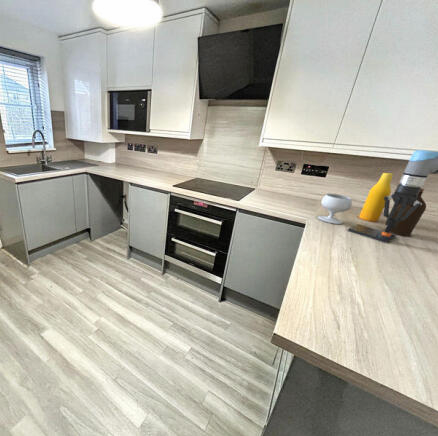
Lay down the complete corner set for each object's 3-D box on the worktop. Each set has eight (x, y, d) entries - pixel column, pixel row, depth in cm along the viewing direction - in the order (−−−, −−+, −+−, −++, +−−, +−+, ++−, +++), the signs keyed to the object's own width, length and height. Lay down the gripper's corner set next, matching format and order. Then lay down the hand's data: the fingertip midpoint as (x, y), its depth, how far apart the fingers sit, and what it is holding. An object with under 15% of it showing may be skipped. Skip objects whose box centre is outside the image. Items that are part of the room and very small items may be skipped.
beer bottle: (361, 215, 154) (379, 171, 143) (379, 220, 147) (400, 174, 136) (356, 218, 149) (375, 172, 138) (375, 223, 142) (397, 175, 131)
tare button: (390, 236, 117) (392, 233, 116) (388, 237, 115) (390, 234, 114) (382, 233, 119) (383, 231, 119) (380, 235, 117) (381, 232, 117)
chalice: (343, 220, 143) (352, 196, 138) (345, 227, 132) (355, 201, 127) (315, 214, 150) (323, 191, 145) (315, 220, 139) (324, 196, 134)
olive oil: (416, 238, 123) (441, 192, 114) (392, 234, 126) (414, 189, 117) (402, 230, 133) (424, 187, 123) (380, 227, 135) (400, 185, 126)
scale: (397, 238, 122) (400, 233, 121) (389, 244, 114) (392, 238, 113) (357, 226, 135) (359, 221, 134) (347, 230, 127) (349, 225, 126)
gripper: (388, 182, 111) (368, 228, 119) (429, 189, 101) (403, 238, 109) (393, 181, 115) (372, 225, 123) (432, 188, 105) (407, 235, 113)
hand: (387, 231), depth 116 cm, fingers closed
